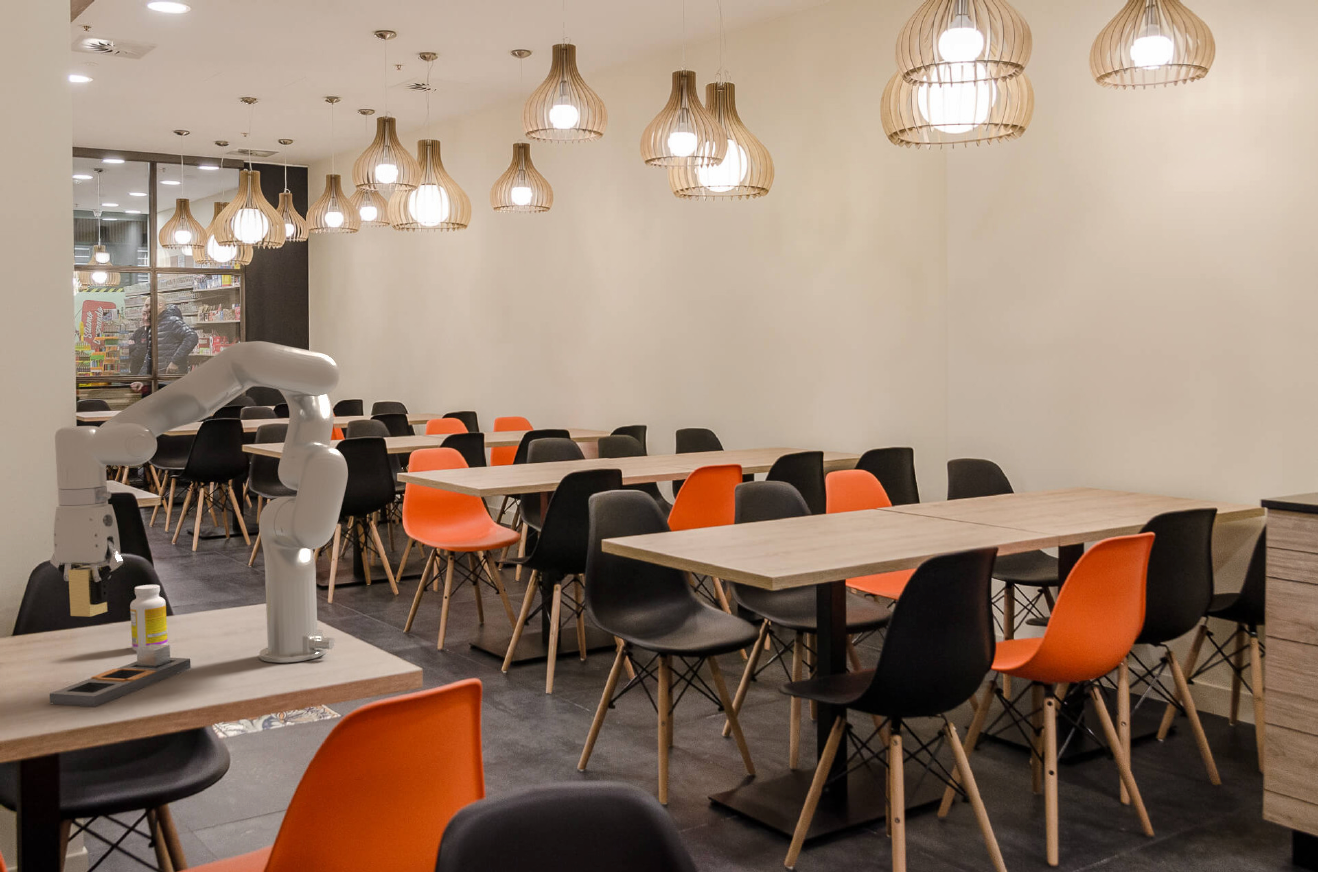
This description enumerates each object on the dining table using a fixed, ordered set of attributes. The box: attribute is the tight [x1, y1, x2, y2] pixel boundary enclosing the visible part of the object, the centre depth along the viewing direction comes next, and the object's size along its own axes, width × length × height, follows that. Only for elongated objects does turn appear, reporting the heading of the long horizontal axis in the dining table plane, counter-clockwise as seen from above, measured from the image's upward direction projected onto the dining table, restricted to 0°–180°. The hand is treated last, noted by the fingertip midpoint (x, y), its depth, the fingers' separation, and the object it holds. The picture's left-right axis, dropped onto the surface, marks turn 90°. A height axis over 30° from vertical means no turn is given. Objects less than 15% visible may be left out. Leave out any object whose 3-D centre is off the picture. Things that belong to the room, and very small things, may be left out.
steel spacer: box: [136, 644, 171, 668], centre depth 205 cm, size 4×4×5 cm
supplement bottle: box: [129, 584, 169, 652], centre depth 225 cm, size 7×7×13 cm
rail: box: [49, 657, 192, 708], centre depth 198 cm, size 9×25×2 cm, turn 167°
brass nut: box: [68, 565, 108, 617], centre depth 189 cm, size 4×4×8 cm
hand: (88, 601), depth 189 cm, fingers closed on brass nut, 4 cm apart
